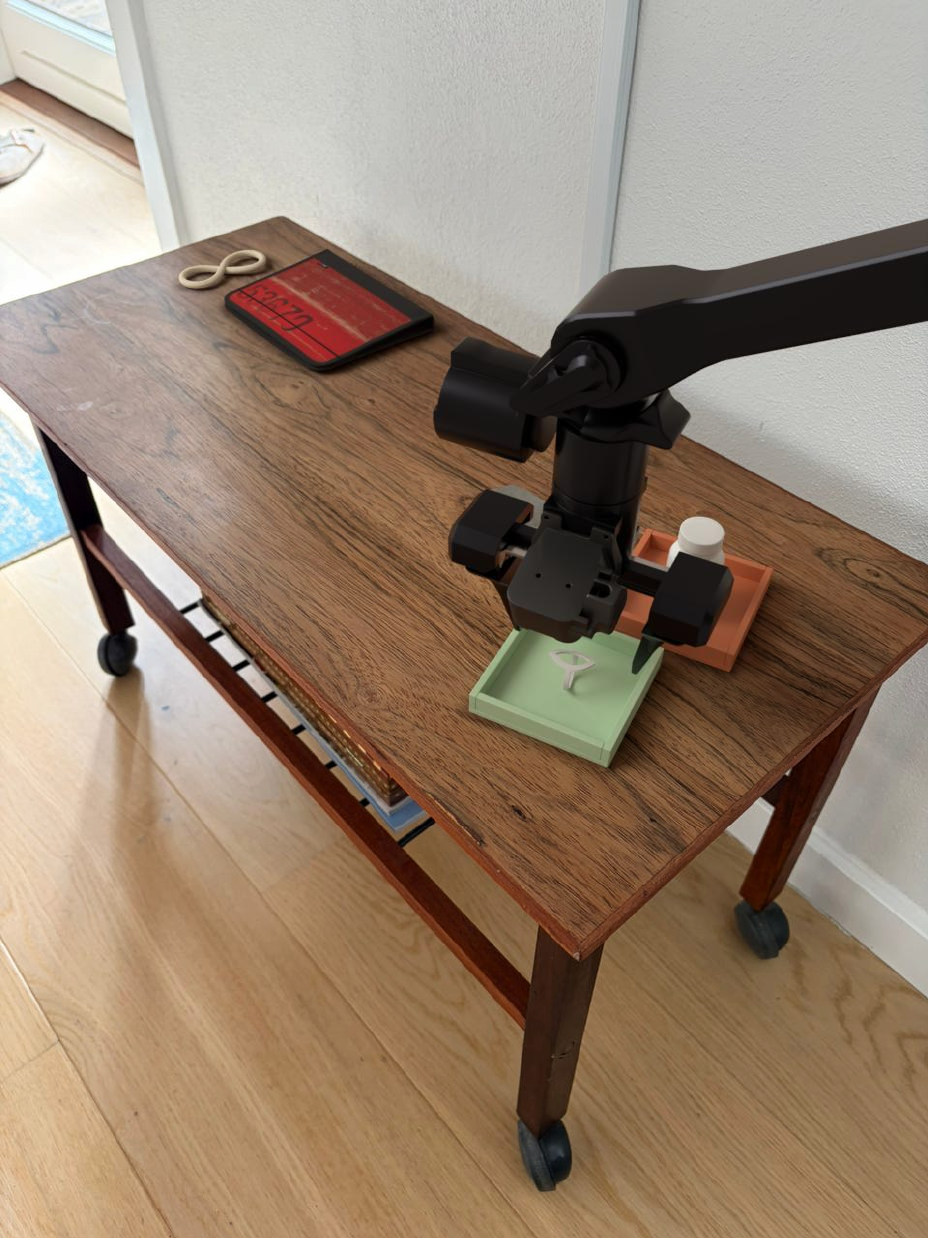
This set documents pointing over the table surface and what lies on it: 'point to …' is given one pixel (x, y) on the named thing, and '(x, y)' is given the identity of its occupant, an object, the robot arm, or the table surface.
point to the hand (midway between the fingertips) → (577, 648)
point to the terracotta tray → (733, 620)
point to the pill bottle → (699, 540)
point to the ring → (573, 667)
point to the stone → (525, 496)
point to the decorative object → (222, 269)
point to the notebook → (327, 312)
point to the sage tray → (570, 720)
